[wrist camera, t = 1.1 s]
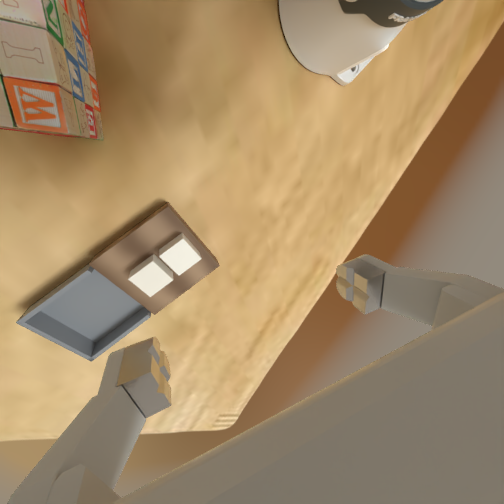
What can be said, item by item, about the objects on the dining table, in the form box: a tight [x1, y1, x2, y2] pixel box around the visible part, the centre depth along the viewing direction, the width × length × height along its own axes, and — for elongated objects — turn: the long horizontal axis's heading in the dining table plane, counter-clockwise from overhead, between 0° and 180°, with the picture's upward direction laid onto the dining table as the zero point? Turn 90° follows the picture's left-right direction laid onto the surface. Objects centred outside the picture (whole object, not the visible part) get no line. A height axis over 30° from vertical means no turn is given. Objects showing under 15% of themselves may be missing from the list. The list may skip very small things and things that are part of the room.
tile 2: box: [159, 233, 202, 275], centre depth 32 cm, size 4×4×2 cm
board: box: [89, 202, 220, 315], centre depth 34 cm, size 13×12×3 cm
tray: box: [16, 264, 151, 361], centre depth 33 cm, size 11×11×4 cm
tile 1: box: [128, 254, 173, 297], centre depth 31 cm, size 4×4×2 cm
